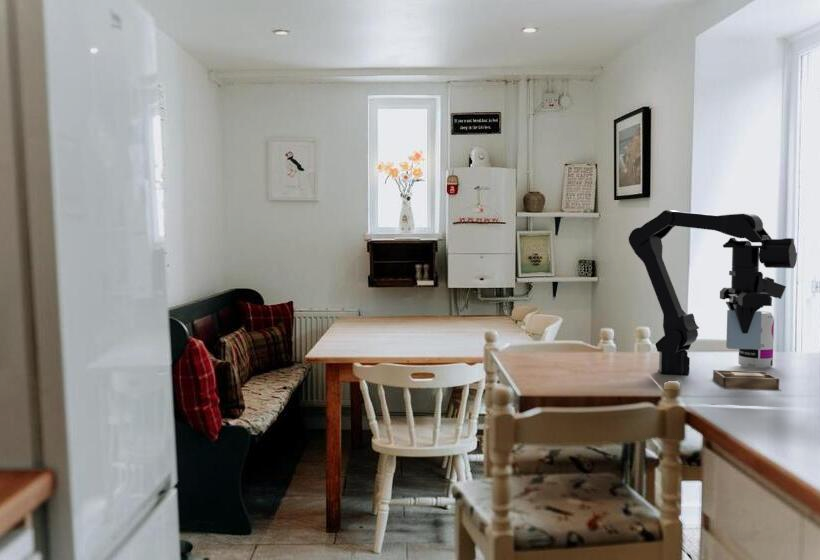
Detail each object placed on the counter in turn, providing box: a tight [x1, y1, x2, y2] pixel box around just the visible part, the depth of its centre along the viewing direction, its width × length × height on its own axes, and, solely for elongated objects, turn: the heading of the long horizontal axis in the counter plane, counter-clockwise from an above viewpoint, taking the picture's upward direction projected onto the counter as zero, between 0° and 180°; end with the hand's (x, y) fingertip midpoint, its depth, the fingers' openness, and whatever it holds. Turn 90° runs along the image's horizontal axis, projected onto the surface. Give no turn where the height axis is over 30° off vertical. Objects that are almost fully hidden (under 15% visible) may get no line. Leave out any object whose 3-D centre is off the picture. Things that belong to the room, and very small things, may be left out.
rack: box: [711, 369, 782, 391], centre depth 160 cm, size 12×11×3 cm
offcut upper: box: [730, 372, 765, 378], centre depth 158 cm, size 6×4×1 cm, turn 80°
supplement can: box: [738, 310, 775, 369], centre depth 183 cm, size 8×8×15 cm
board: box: [726, 309, 763, 350], centre depth 161 cm, size 7×2×9 cm, turn 81°
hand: (743, 332), depth 161 cm, fingers closed on board, 2 cm apart
